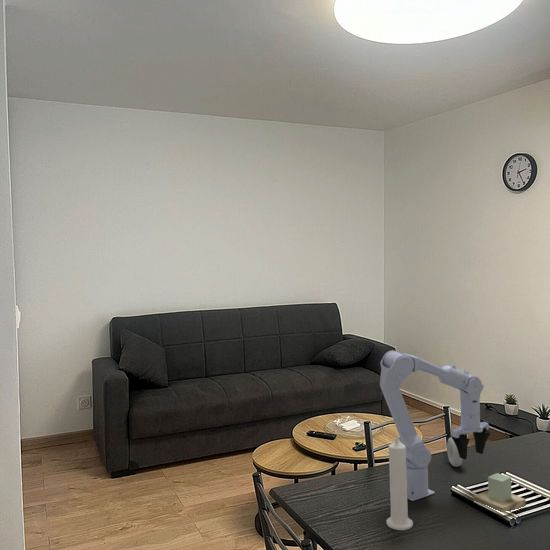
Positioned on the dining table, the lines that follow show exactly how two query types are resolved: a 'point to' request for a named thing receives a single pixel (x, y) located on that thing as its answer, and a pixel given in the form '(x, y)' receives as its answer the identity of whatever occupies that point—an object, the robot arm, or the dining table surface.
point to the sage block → (499, 487)
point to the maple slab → (508, 505)
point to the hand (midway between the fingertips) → (471, 455)
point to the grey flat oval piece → (453, 453)
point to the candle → (398, 487)
